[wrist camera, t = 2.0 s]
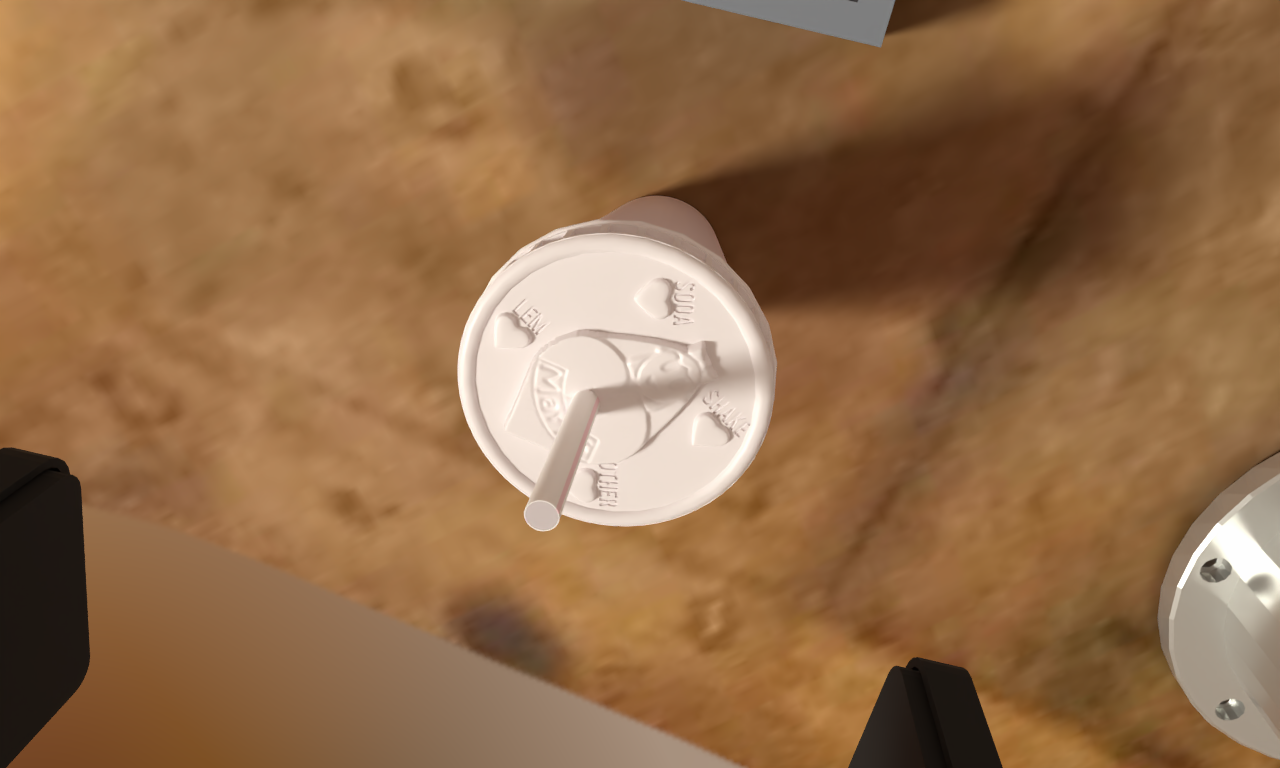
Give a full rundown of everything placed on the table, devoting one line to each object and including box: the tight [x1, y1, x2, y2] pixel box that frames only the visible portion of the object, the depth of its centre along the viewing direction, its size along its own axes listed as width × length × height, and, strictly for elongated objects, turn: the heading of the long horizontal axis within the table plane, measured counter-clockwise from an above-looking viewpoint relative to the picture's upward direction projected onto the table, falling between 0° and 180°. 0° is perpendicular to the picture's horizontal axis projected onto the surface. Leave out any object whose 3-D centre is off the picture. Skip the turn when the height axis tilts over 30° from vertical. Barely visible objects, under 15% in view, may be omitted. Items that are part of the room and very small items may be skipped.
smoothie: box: [458, 196, 777, 531], centre depth 20 cm, size 6×6×14 cm
